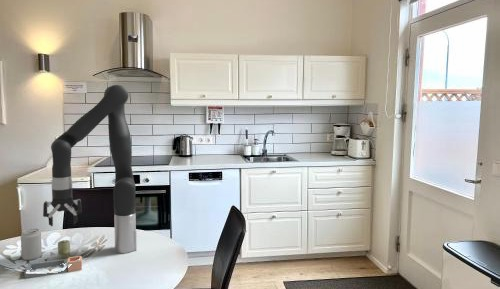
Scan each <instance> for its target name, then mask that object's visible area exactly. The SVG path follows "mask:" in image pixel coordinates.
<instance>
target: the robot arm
mask: <svg viewBox="0 0 500 289" xmlns="http://www.w3.org/2000/svg"><path fill="white" fill-rule="evenodd" d="M103 93H104V94H103V97H102V98H101V99H100V101H99V102H97V103H96V104H95V106H94V107H92V108H91V109H89V110H88V111H87V112H86V113H85V114H83V115H82V116H81V117H80V118H78V119H77V120H76V121H75V122H74V123H72V125H70V127H68V129H67V130H65V131H64V132H63V133H62V134H61V135H59V136H58V137H57V138H56V139H55V140H54V141H53V142H52V143H51V144H50V149H51V154H52V166H51V174H52V177H51V201H47V200H45V201H44V202H43V207H42V208H43V210H42V212H43V213H42V214H43V215H42V217H45V218H47V219H48V226H50V227H53V226H54V214H56V212H58V213H59V212H68V211H69V212H70V213H71V214H72V215H73V216H72V217H73V225H76V223H77V222H78V215H80V214H82V212H83V210H82V200H81V198H78V199H74V198H73V179H72V166H71V162H72V148H73V147H74V146H75V145H77V143H79V142H81V141H83V140H84V139H85V138H86V137H88V135H89V134H90V133H91V132H92V131H93V130H94V129H95V128H96V127H97V126H98V125H100V123H101V122H102V121H103V120H104V119H105V118H107V120H108V122H107V123H108V124H107V126H108V142H109V144H108V145H109V151H110V156H111V158H112V161H113V162H112V163H113V165H114V173H115V175H114V177H115V181H114V183H115V184H114V187H113V194H112V195H113V210H114V213H113V214H114V218H113V220H114V221H113V222H114V252H116V253H119V254H127V253H132V252H133V251H137V246H138V245H137V228H136V227H137V226H136V225H137V223H136V220H137V218H136V217H137V215H136V214H137V213H136V210H137V209H136V205H137V204H136V188H137V187H136V183H135V179H134V174H133V166H132V163H133V162H132V158H133V151H132V147H133V146H132V138H131V132H130V128H129V125H128V122H127V120H126V112H125V104H126V103H127V102H128V100H129V92H128V90H127V88H126V87H125V86H123V85H120V84H113V85H109V86H108V87H107V88H106V89H105V90H104V92H103ZM74 204H75V205H76V206H77V210H76V209H75V207H73V205H74ZM50 206H51V207H52V209H51V211H50V212H48V208H49V207H50Z"/></svg>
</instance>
